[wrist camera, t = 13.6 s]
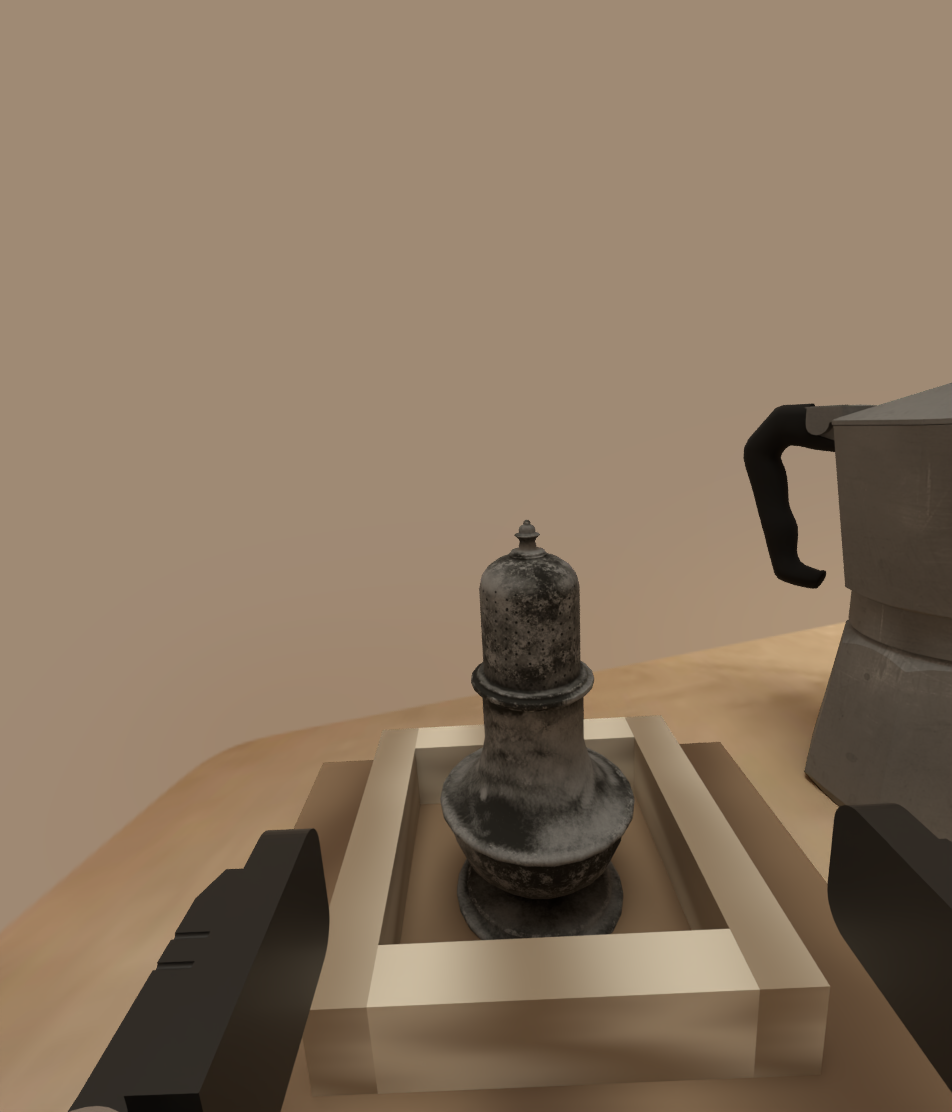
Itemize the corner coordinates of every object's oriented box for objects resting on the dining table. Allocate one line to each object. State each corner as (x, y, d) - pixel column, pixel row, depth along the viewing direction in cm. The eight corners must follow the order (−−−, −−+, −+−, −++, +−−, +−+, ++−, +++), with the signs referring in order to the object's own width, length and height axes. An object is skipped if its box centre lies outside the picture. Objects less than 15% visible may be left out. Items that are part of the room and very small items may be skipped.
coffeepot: (1206, 830, 20) (1359, 285, 16) (1142, 974, 16) (1333, 253, 11) (783, 680, 33) (806, 354, 29) (675, 734, 28) (685, 353, 24)
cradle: (719, 761, 26) (722, 691, 25) (1033, 1205, 11) (1066, 1070, 10) (326, 781, 26) (316, 713, 25) (135, 1239, 12) (97, 1112, 11)
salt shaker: (603, 816, 21) (602, 499, 18) (662, 961, 16) (675, 533, 13) (446, 830, 21) (422, 510, 18) (449, 983, 15) (413, 550, 13)
